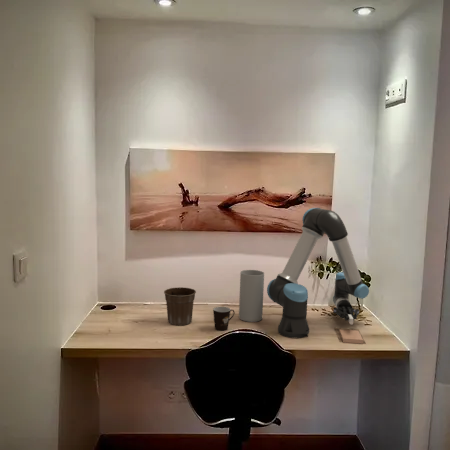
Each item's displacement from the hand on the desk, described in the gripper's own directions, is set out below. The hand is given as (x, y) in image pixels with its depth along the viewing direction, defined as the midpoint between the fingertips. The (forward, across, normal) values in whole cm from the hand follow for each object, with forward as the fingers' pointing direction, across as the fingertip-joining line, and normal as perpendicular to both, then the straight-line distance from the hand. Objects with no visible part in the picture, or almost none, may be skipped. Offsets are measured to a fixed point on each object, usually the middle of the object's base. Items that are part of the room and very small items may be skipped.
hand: (351, 321), depth 215 cm
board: (-2, 0, -9) cm, 9 cm away
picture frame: (-5, 0, -7) cm, 8 cm away
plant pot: (-9, +85, -9) cm, 86 cm away
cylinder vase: (-21, +49, -9) cm, 54 cm away
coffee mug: (-3, +61, -9) cm, 62 cm away
